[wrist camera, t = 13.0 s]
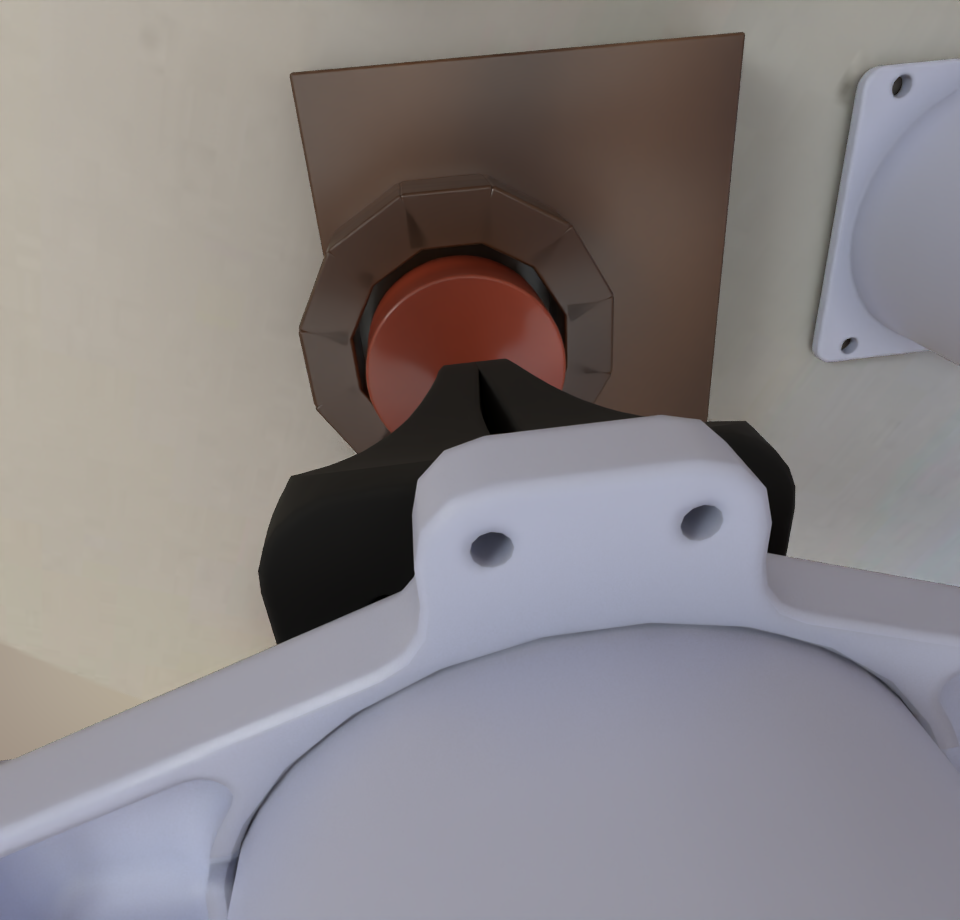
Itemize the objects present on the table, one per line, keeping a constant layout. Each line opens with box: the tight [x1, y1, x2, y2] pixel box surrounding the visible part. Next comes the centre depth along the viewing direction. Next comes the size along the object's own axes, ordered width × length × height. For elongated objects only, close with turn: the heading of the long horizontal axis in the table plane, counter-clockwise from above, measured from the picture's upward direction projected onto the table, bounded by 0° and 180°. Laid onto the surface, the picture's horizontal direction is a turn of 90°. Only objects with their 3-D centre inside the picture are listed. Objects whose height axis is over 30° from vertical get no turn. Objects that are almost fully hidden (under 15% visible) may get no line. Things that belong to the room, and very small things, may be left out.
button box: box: [290, 32, 745, 454], centre depth 18 cm, size 11×12×4 cm
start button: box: [366, 255, 566, 433], centre depth 16 cm, size 4×4×2 cm
